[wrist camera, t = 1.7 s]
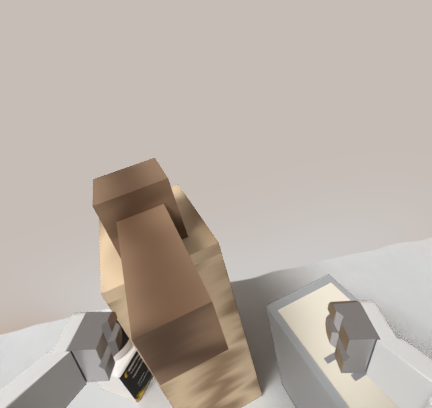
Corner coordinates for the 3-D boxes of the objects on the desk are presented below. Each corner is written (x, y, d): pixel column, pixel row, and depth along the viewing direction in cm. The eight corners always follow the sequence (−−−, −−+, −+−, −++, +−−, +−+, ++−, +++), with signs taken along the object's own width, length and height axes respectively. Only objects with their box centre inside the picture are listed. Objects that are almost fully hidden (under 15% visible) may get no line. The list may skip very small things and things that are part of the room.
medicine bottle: (138, 404, 39) (102, 355, 33) (101, 389, 42) (61, 342, 36) (164, 355, 45) (136, 305, 39) (129, 345, 48) (98, 298, 42)
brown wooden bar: (173, 208, 30) (154, 157, 27) (244, 340, 16) (222, 262, 13) (118, 230, 29) (93, 179, 26) (141, 395, 15) (89, 322, 12)
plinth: (331, 355, 39) (328, 272, 31) (432, 479, 27) (470, 397, 19) (281, 383, 37) (265, 304, 29) (366, 528, 26) (378, 462, 18)
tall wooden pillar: (221, 315, 49) (178, 184, 36) (262, 395, 37) (218, 242, 24) (167, 343, 46) (99, 214, 33) (191, 436, 35) (101, 293, 22)
